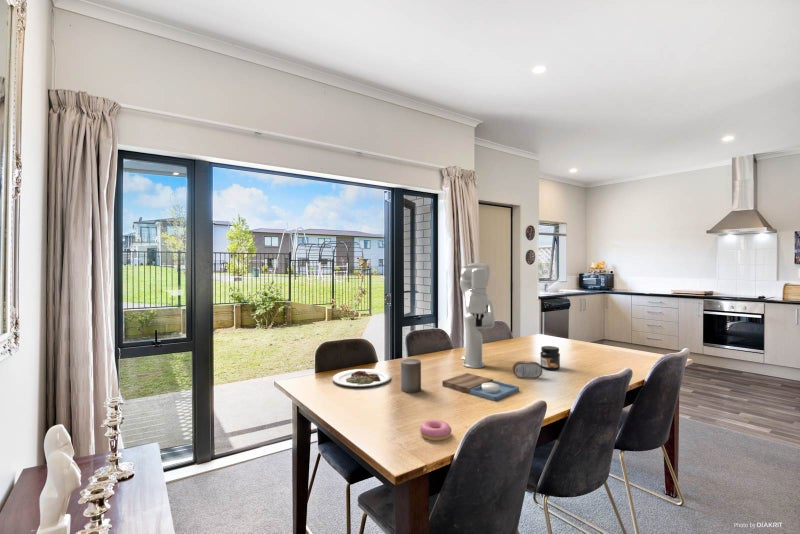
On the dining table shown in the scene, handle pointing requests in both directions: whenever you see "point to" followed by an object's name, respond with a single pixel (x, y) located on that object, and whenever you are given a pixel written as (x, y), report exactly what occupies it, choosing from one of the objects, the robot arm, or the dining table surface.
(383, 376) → the plated food
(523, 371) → the tin
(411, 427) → the dining table surface
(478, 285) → the robot arm
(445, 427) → the doughnut
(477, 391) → the tray
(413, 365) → the pillar candle
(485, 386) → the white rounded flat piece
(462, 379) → the wooden cutting board
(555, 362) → the supplement container
